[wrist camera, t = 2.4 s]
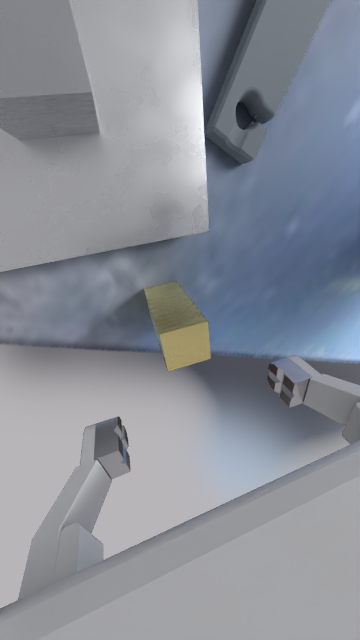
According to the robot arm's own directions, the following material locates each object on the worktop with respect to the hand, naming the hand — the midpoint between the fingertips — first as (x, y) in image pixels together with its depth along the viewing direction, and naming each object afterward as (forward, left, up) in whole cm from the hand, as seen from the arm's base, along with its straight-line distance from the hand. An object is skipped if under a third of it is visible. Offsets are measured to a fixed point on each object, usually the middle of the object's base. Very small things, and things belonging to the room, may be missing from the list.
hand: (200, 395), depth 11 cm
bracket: (-10, -15, -12) cm, 22 cm away
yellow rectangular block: (-1, 0, -12) cm, 12 cm away
